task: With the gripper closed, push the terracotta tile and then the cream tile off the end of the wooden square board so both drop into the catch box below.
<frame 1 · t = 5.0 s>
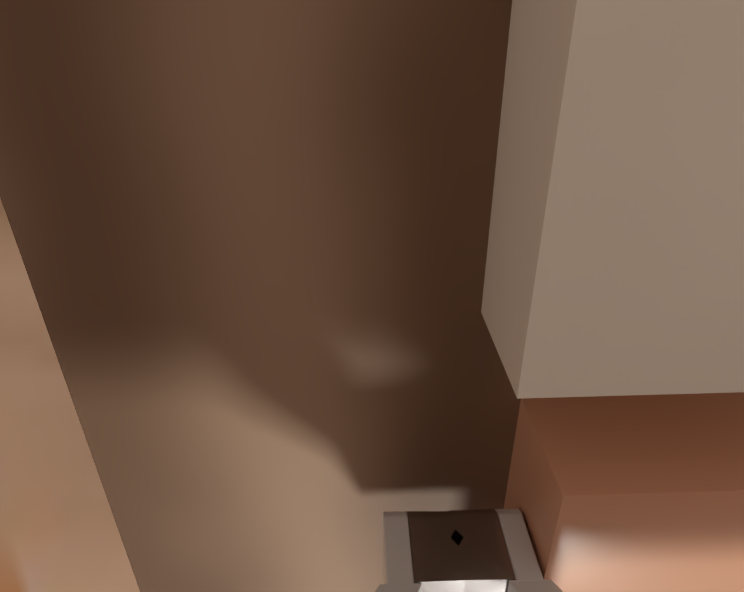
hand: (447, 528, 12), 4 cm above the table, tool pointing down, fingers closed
terracotta tile: (632, 496, 12), point 3 cm above the table, touching gripper, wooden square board
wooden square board: (449, 287, 13), on the table
cream tile: (682, 146, 9), point 3 cm above the table, touching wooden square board
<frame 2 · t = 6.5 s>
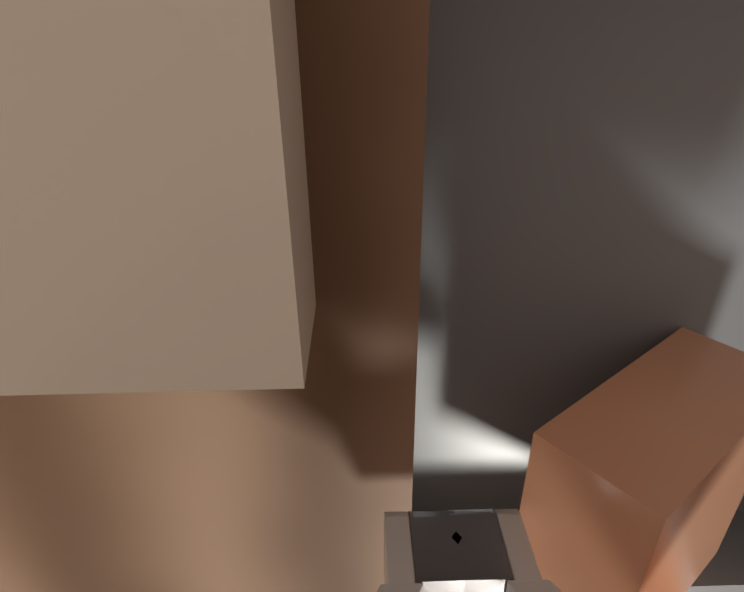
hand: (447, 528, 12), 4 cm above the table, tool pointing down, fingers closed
terracotta tile: (592, 471, 13), point 2 cm above the table, tilted 37°, touching gripper
catch box: (647, 275, 13), on the table
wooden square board: (79, 287, 13), on the table
cream tile: (117, 146, 9), point 3 cm above the table, touching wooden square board
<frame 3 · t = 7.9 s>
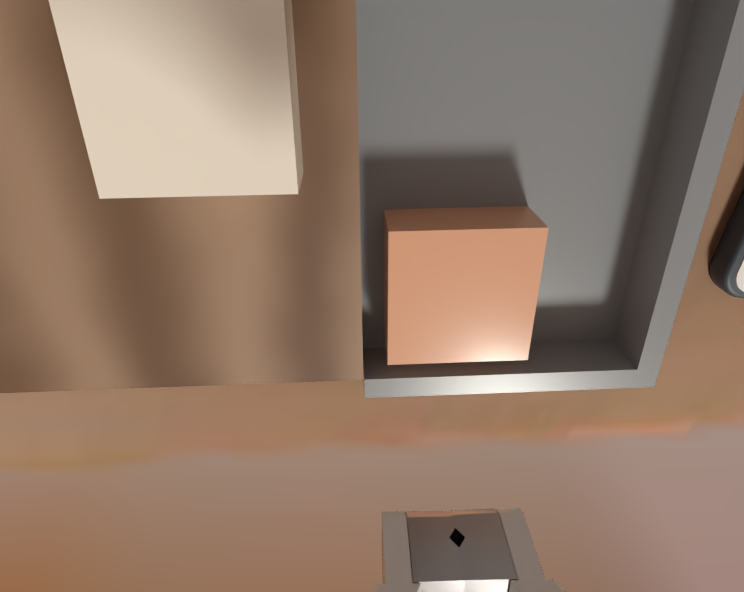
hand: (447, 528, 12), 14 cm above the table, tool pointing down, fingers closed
terracotta tile: (451, 273, 23), point 1 cm above the table, touching catch box
catch box: (503, 173, 22), on the table
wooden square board: (159, 181, 21), on the table
cream tile: (202, 81, 17), point 3 cm above the table, touching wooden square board
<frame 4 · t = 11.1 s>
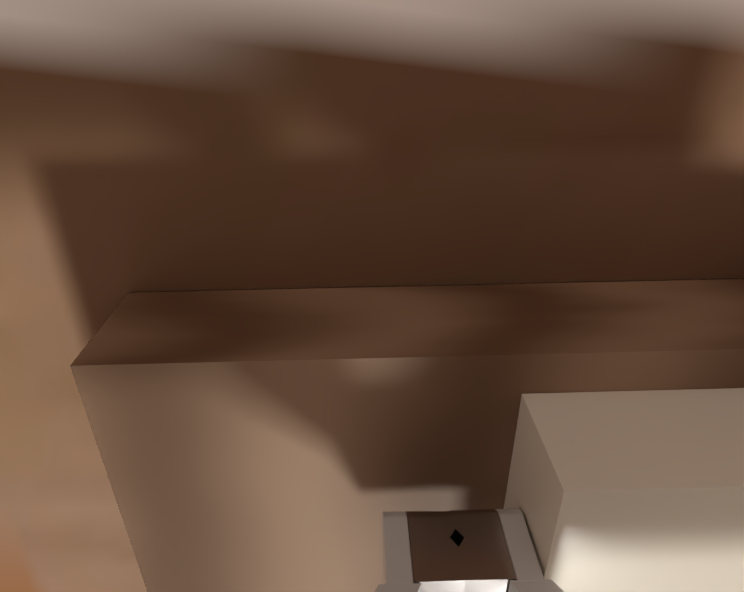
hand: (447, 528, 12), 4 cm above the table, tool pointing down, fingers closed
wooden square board: (440, 509, 17), on the table
cream tile: (633, 492, 12), point 3 cm above the table, touching gripper
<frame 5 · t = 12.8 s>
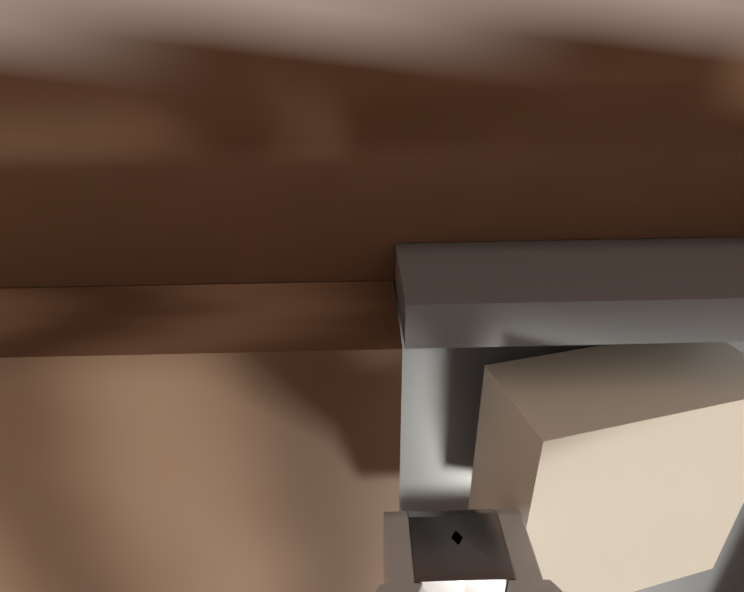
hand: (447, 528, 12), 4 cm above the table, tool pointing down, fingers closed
catch box: (578, 499, 17), on the table
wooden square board: (139, 510, 17), on the table
cream tile: (577, 439, 14), point 1 cm above the table, tilted 13°, touching gripper
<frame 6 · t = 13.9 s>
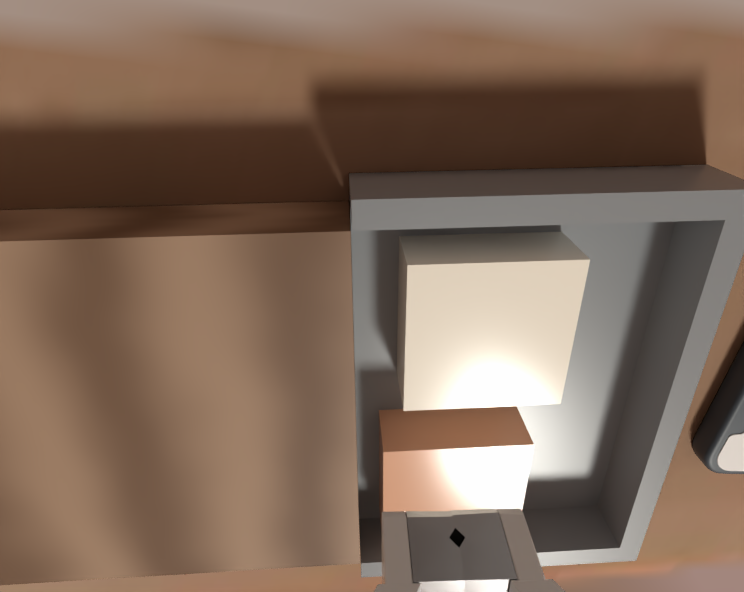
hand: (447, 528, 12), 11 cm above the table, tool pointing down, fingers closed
terracotta tile: (443, 457, 25), point 1 cm above the table, touching catch box
catch box: (492, 374, 23), on the table
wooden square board: (164, 388, 23), on the table
cream tile: (474, 305, 21), point 1 cm above the table, touching catch box
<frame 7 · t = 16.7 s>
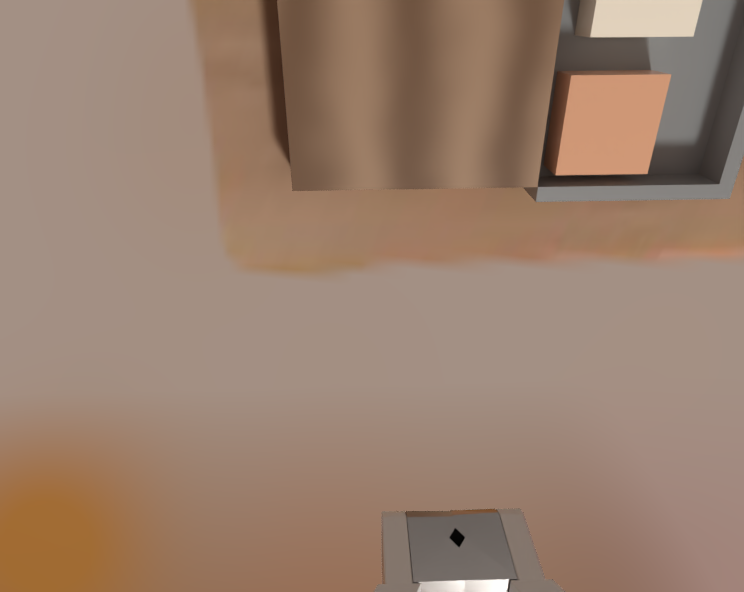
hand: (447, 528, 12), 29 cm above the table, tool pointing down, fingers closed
terracotta tile: (595, 119, 35), point 1 cm above the table, touching catch box
catch box: (635, 48, 34), on the table
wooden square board: (414, 50, 34), on the table
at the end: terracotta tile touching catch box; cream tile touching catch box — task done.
